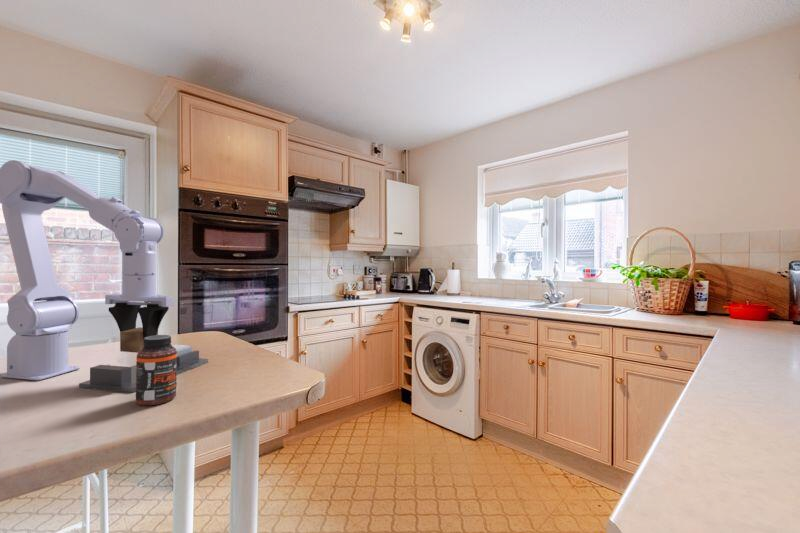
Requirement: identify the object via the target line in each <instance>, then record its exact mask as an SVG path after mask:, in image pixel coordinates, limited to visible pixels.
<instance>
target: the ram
mask: <svg viewBox="0 0 800 533" xmlns="http://www.w3.org/2000/svg"><path fill="white" fill-rule="evenodd" d="M171 345H172V346H173V347H174V348H176V350H177V357H178V356H181V355H184V354H187V353H189V352H192V351H193V346H190V345H188V344H187V345H186V344H171Z"/></svg>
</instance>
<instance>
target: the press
mask: <svg viewBox="0 0 800 533" xmlns="http://www.w3.org/2000/svg"><path fill="white" fill-rule="evenodd" d="M208 363H209V358H201V357H200V350H192V352H189V353H187V354H184V355H181V356H178V357H177V376H178V375H180V374H183V373H185V372H187V371H190V370H192V369H194V368H198V367H199V366H200V367H201V366H203V365H204V364H208ZM78 388H79V389H80V388H81V389H91V390H99V389H100V390H102V391H110V392H111V391H113V392H122V393H123V392H124V393H136V365H132V366H123V365H122V366H121V365H108V364H99V365H98V364H97V365H95V366H93V367H89V380H86V381H82V382H79V383H78Z"/></svg>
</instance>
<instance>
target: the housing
mask: <svg viewBox="0 0 800 533" xmlns="http://www.w3.org/2000/svg"><path fill="white" fill-rule="evenodd" d="M157 335H159V330H158V331H157ZM143 344H144V338H143V326H142V327H136V328H135V329H131V330H126V331H122V332H120V331H119V347H120V348H119V349H120V350H119V351H120V352H123V353H124V352H125V353H137V354H138V352H139V351H140V350H142V349H143V347H144V345H143Z"/></svg>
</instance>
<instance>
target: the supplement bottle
mask: <svg viewBox="0 0 800 533" xmlns="http://www.w3.org/2000/svg"><path fill="white" fill-rule="evenodd" d="M171 343H172V336H171V335H169V334H158V335H154V336H148V337H145V338H144V344H143V345H144V347H143V349H142V350H140V351H139V352H138V353H137V354H136V363H135V364H136V392H135V402H136V403H137V404H138V405H140V406H156V405H157V406H158V405H161V404H165V403H168V402H170V401H171V400H173V399H174V398H175V397H176V396H177V376H178V375H177V350H176V348H174V347H173V346H172V345H173V344H171Z"/></svg>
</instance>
